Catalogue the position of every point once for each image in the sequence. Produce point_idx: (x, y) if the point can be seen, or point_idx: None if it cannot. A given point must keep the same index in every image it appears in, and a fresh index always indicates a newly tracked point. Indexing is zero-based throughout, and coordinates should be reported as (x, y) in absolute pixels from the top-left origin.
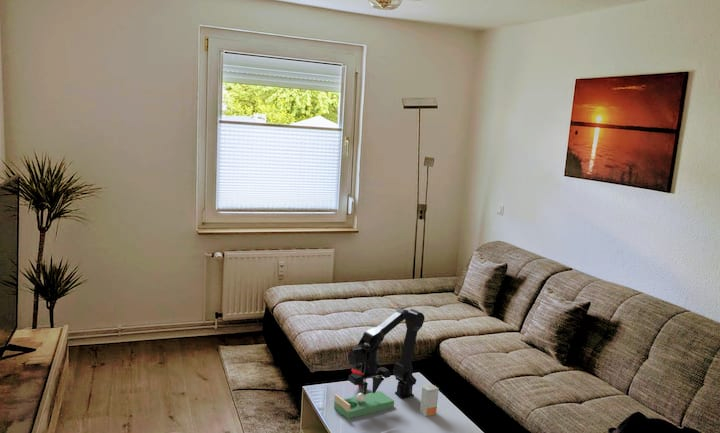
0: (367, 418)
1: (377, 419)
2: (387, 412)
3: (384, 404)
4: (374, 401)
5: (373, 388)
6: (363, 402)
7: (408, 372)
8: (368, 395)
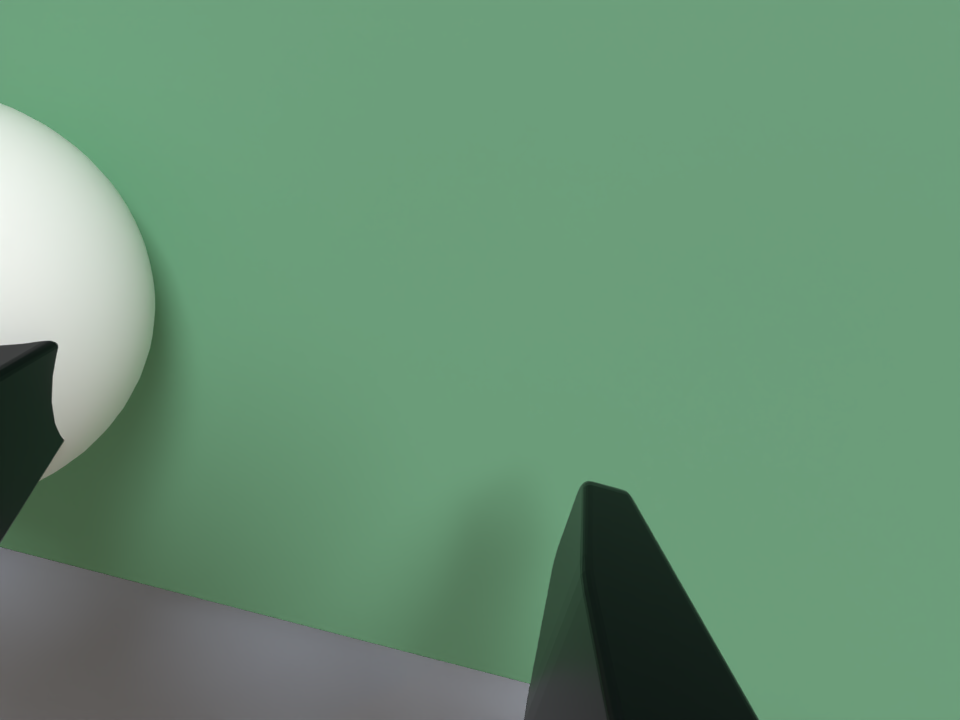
0: None
1: (194, 671)
2: None
3: None
4: (473, 497)
5: (565, 701)
6: None
7: None
8: (717, 31)
